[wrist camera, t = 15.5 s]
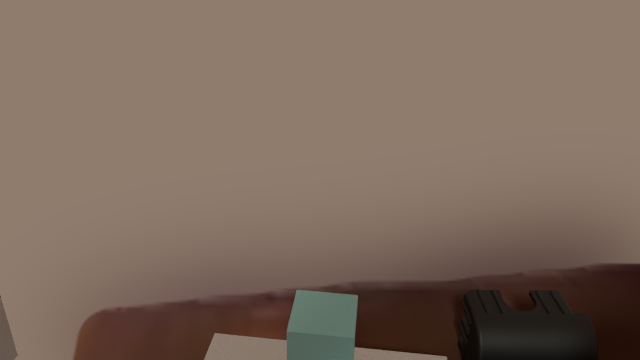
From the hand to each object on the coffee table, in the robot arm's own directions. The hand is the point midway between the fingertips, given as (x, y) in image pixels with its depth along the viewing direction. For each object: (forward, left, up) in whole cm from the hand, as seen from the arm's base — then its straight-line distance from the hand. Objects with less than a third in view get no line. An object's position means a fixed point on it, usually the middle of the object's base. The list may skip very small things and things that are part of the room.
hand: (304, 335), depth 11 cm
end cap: (-10, -34, -30) cm, 46 cm away
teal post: (+5, -22, -30) cm, 37 cm away
